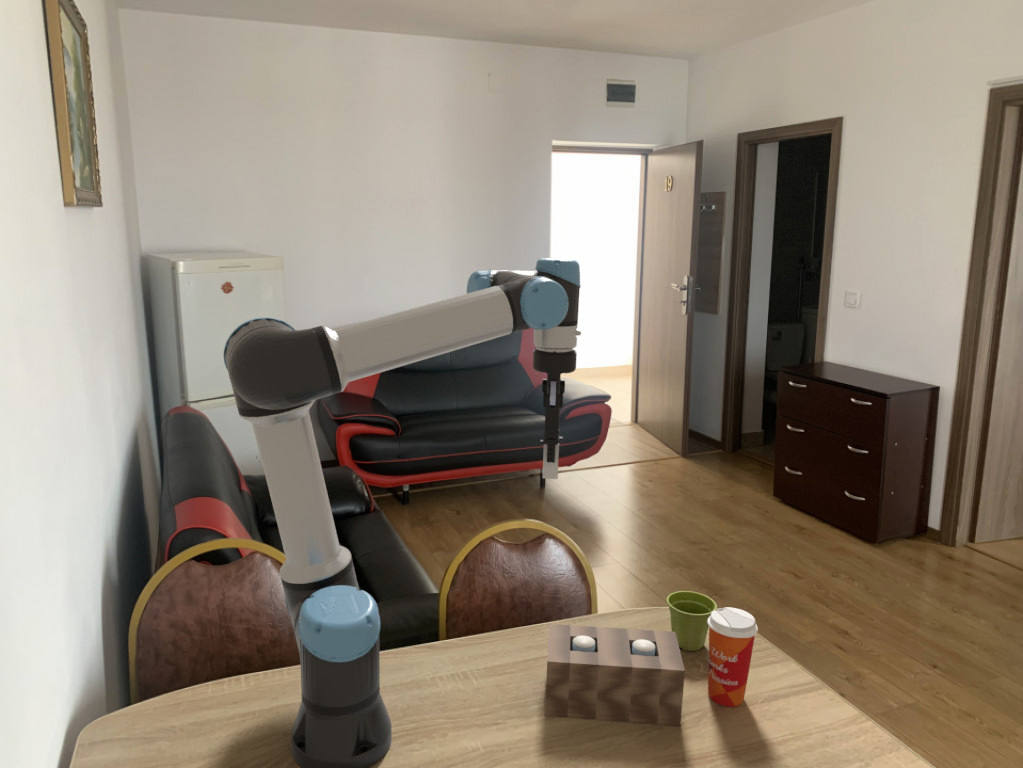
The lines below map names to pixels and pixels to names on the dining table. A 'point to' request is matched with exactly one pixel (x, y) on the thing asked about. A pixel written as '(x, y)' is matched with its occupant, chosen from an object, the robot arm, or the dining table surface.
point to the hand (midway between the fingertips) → (550, 477)
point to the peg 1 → (583, 644)
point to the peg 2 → (643, 648)
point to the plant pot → (690, 618)
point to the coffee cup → (729, 654)
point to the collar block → (614, 676)
